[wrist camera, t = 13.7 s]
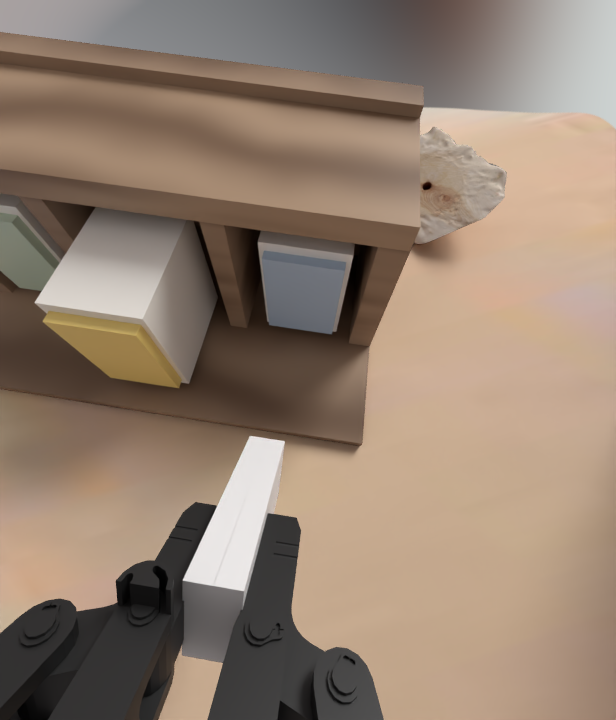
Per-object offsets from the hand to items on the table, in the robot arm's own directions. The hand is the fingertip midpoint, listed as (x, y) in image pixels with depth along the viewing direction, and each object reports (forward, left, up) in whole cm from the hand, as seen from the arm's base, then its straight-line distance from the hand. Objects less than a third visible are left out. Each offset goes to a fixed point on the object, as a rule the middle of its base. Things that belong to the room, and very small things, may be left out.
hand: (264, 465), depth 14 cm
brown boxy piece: (+13, -5, -6) cm, 16 cm away
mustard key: (+12, -3, -5) cm, 13 cm away
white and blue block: (+7, -12, -5) cm, 15 cm away
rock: (+5, -27, -7) cm, 29 cm away
